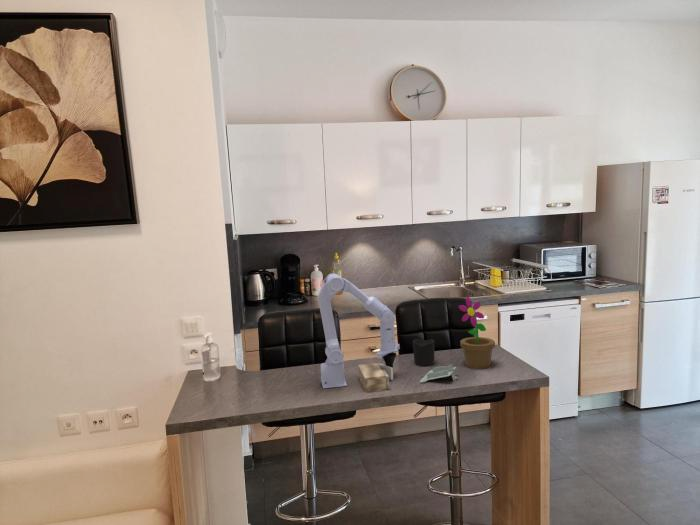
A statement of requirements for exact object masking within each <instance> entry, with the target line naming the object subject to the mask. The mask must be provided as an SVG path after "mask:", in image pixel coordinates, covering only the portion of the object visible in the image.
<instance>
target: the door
mask: <svg viewBox="0 0 700 525" xmlns="http://www.w3.org/2000/svg"><path fill="white" fill-rule="evenodd" d="M378 365H379V366H380V368H381V369H382V370H385V371H386V373H387V374H388V375H389V377H390V380H389V381H393V380H394V371H393V370H394V367H393V368H392V367H389V366H386V364H384V363H378Z"/></svg>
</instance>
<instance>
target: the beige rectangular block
mask: <svg viewBox="0 0 700 525" xmlns="http://www.w3.org/2000/svg"><path fill="white" fill-rule="evenodd" d="M378 364H379V363H376V362H375V363H366V364H358V365H357V366H358V380H359V381H360V383H361V385H362V387H363V389H364V391H365V392H366V393H371V392H379V391H387V390H390V381H391V380H390V377H389V375H388V374H387V373H386V371H385V370H382V369H381V368H380V366H379V365H378Z"/></svg>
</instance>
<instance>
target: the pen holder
mask: <svg viewBox="0 0 700 525" xmlns="http://www.w3.org/2000/svg"><path fill="white" fill-rule="evenodd" d="M412 348H413V349H412V350H413V361H414V362H413V363H414V364H415V365H416V366H418V365H420V366H419V367H429V366H432V365H434V364H435V340H434V339H431V338H430V339H426V340H425V339H422V338H415V339H413V340H412Z"/></svg>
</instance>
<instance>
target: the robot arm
mask: <svg viewBox="0 0 700 525" xmlns="http://www.w3.org/2000/svg"><path fill="white" fill-rule="evenodd" d="M339 292H343V293H349V294H351V295H352V296H354V297H355V298H356V299H357V300H359V301H361V302H362V304H363V308H364V309H366V311H368V312H369V313H371V314H372V315H373V316H374V317H375V318H378V320H379V333H380V349H379V351H378V352H376V358H377V359H380V360H381V359H382V360H383V361H384V365H386V366H389V367H392V368H393V369H394V364H395V363H394V361H395V359H396V357H397V352H399V351H398V350H400V349H401V347H400V343H396V338H395V337H396V334H395V320H396V316H395V312H393V311H392V310H391V309H390V308H389V307H388V306H387V305H386V304H383V303H382V302H381V301H380V300H379V298H378V297H376V296H375V297H374V296H367V295H366V294H365V293H364V292H363V291H362V290H360V289H359V288H358V287H357V286H356V285H355V284H354V283H352V282H351V281H349V280H348V279H346V278H344V277H343V276H342V277H341V276H340V275H339V274H337V273H335V272H333V273H329V274H328V275H327V276H326V277H325V278H324V279H323V281H322V284H321V286H320V289H319V291H318V294H317V301H318V305H319V307H318V308H319V311H320V317H321V322H322V326H323V332H324V337H325V349H324V352H325V355H326V357H327V358H326V360H325V362H322V363H320V383H321V385H322V388H323V389H330V388H340V387H341V388H342V387H347V386H348V384H347V381H346V379H345V363H344V353H343V351H342V349H341V346H340V343H339V340H338V335H337V329H336V324H335V319H334V314H333V313H334V312H333V309H332V302H331V300H332V299H333V298H334V296H335V295H336V294H338V293H339Z"/></svg>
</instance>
